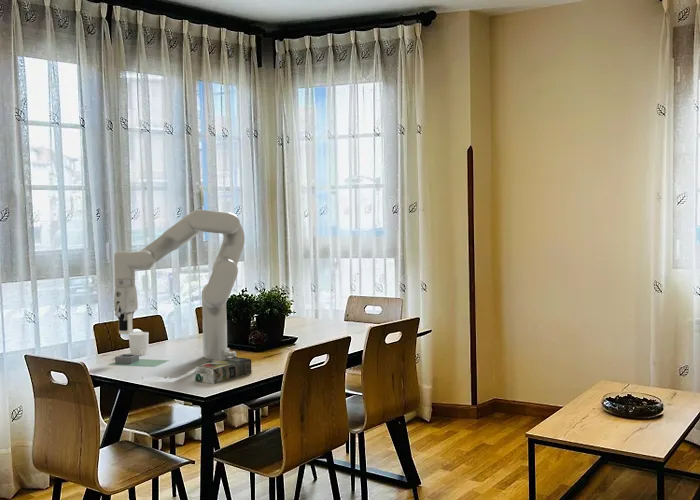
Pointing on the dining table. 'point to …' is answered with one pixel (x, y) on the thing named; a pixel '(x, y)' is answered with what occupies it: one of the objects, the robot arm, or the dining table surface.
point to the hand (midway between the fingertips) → (125, 329)
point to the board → (135, 361)
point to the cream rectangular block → (128, 324)
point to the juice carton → (223, 370)
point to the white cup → (139, 343)
